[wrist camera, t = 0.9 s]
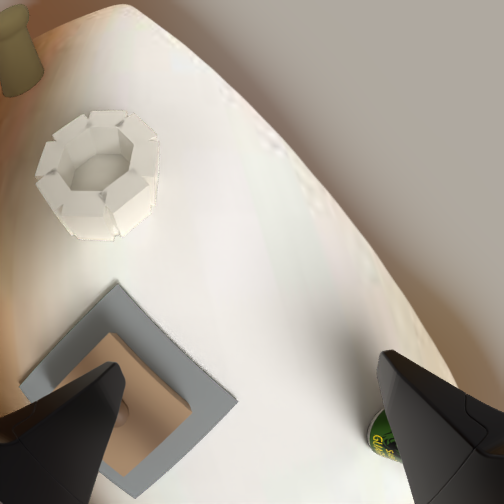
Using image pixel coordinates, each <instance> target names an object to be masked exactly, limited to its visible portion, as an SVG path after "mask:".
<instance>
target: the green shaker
mask: <svg viewBox="0 0 504 504" xmlns="http://www.w3.org/2000/svg"><path fill="white" fill-rule="evenodd" d="M28 21H29V11H28V9H27V7H26V6H25V5H23V4H18V5H14V6H11V7H9V8H7V9H5V10H3V11H2V12H0V81H1V86H2V91H3V94H4V95H5V96H6V97H14V96H18V95H20V94H23V93H24V92H26V91H28V90H29V89H31V88H32V87H33V86H34V85H36V84H37V83H38V82H39V80H40V79H41V78H42V76H43V74H44V68H43V66H42V64H41V61H40V59H39V57H38V54H37V52H36V50H35V47H34V45H33V42H32V40H31V37H30V35H29V32H28V29H27V27H26V25H27V23H28Z"/></svg>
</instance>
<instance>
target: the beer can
mask: <svg viewBox="0 0 504 504" xmlns="http://www.w3.org/2000/svg"><path fill="white" fill-rule="evenodd" d="M367 440H368V443H369V445H370V447H371V449H372V450H373V452H375V453H376V454H378V455H380V456H383V457H386V458H389V459H391V460H394V461H397V462H400V463H402V460H401V456H400V453H399V450H398V447H397V444H396V441H395V438H394V436H393V433H392V430H391V427H390V424H389V421H388V418H387V415H386V412H385V408H383V409H381V410H380V411H379V412H378V413H377V414H376V415H375V416H374V418H373V419H372V421H371V423H370V425H369V428H368V433H367Z"/></svg>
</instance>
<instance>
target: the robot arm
mask: <svg viewBox="0 0 504 504" xmlns="http://www.w3.org/2000/svg"><path fill="white" fill-rule="evenodd" d="M377 378H378V382H379V386H380V391H381V395H382V399H383V404H384V408H385V412H386V415H387V418H388V421H389V424H390V427H391V430H392V433H393V436H394V438H395V441H396V444H397V447H398V450H399V453H400V456H401V460H402V463H403V466H404V469H405V472H406V475H407V479H408V482H409V485H410V489H411V492H412V496H413V499H414V503H415V504H504V412H501V411H499V410H497V409H495V408H493V407H491V406H489V405H486V404H485V403H483V402H481V401H479V400H477V399H475V398H474V397H472V396H470V395H468V394H466V393H465V392H463V391H462V390H460V389H458V388H456V387H455V386H453V385H451V384H450V383H448V382H446V381H445V380H443V379H441V378H439V377H438V376H436V375H434V374H433V373H431V372H429V371H428V370H426V369H424V368H423V367H421V366H419V365H418V364H416V363H414V362H413V361H411V360H409V359H407V358H406V357H404V356H402V355H401V354H399V353H397V352H396V351H394V350H386V351H382V352H381V353H380V356H379V361H378V367H377ZM125 385H126V381H125V377H124V375H123V373H122V370H121V368H120V366H119V364H118V363H117V362H111V361H107V362H105V363H103V364H102V365H100V366H98V367H96V368H94V369H93V370H91V371H89V372H87V373H86V374H84V375H82V376H80V377H79V378H77V379H75V380H73V381H71V382H70V383H68V384H66V385H64V386H62V387H61V388H59V389H57V390H55V391H53V392H51V393H50V394H48V395H46V396H44V397H42V398H40V399H39V400H37V401H35V402H33V403H31V404H29V405H27V406H25V407H23V408H22V409H19V410H17V411H15V412H13V413H11V414H8V415H6V416H4V417H1V418H0V504H89V500H90V497H91V494H92V490H93V487H94V484H95V481H96V477H97V474H98V471H99V468H100V465H101V462H102V459H103V456H104V453H105V450H106V448H107V445H108V442H109V439H110V436H111V433H112V431H113V428H114V425H115V422H116V419H117V416H118V413H119V409H120V405H121V401H122V397H123V393H124V389H125Z"/></svg>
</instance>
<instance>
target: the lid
mask: <svg viewBox="0 0 504 504" xmlns="http://www.w3.org/2000/svg"><path fill="white" fill-rule="evenodd" d="M107 361H111V362H117V363H118V364H119V366H120V368H121V370H122V373H123V375H124V377H125V381H126V385H125V389H124V393H123V397H122V401H121V405H120V409H119V413H118V416H117V419H116V422H115V425H114V428H113V431H112V433H111V436H110V439H109V442H108V445H107V448H106V450H105V453H104V456H103V459H102V460H103V461H104V462H105V463H107V464H108V465H109V466H110V467H111V468H113V469H114V470H115V471H116V472H118V473H119V474H120V475H122V476H123V477H124V476H125V475H127V474H128V473H129V472H130V471H131V470H132V469H133V468H135V467H136V466H137V465H138V464H139V463H140V462H141V461H142V460H143V459H145V458H146V457H147V456H148V455H149V454H150V453H151V452H152V451H153V450H154V449H155V448H156V447H158V446H159V445H160V444H161V443H162V442H163V441H164V440H165V439H166V438H167V437H168V436H169V435H170V434H171V433H172V432H173V431H174V430H175V429H176V428H177V427H178V426H179V425H180V424H181V423H183V422H184V421H185V420H186V419H187V418H188V417H189V416H190V415H191V414H192V410H191V407H190V405H189V403H188V402H186V401H185V400H184V399H183V398H182V397H181V396H180V395H178V394H177V393H176V392H175V391H174V390H173V389H172V388H171V387H169V386H168V385H167V384H166V383H165V382H164V381H163V380H162V379H161V378H160V377H159V376H158V375H157V374H156V373H155V372H154V371H152V370H151V369H150V368H149V367H148V366H147V365H146V364H145V363H144V362H143V361H142V360H141V359H140V358H139V357H138V356H137V355H136V354H135V352H134V351H133V350H132V349H131V348H130V347H129V346H128V345H127V344H126V343H125V342H124V341H123V340H122V339H121V338H120V337H119V335H118V334H117V333H110V332H109V333H108V334H107V335H106V336H105V337H104V338H103V339H102V340H101V341H100V342H99V343H98V344H97V345H96V347H95V348H94V349H93V350H92V351H91V352H90V353H89V354H88V355H87V356H86V357H85V358H84V359H83V360H82V361H81V362H80V363H79V364H78V365H77V366H76V367H75V368H74V369H73V370H72V371H71V372H70V373H69V374H68V375H67V376H66V377H65V379H64V380H63V381H62V382H61V383H60V384H59V385H58V386H57V387H56V388H55V389H54V390H53V391H55V390H57V389H59V388H61V387H62V386H64V385H66V384H68V383H70V382H71V381H73V380H75V379H77V378H79V377H80V376H82V375H84V374H86V373H87V372H89V371H91V370H93V369H94V368H96V367H98V366H100V365H102V364H103V363H105V362H107ZM53 391H52V392H53Z"/></svg>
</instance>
